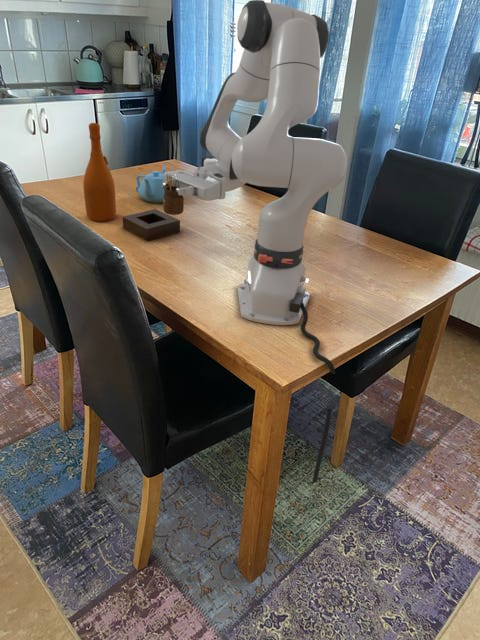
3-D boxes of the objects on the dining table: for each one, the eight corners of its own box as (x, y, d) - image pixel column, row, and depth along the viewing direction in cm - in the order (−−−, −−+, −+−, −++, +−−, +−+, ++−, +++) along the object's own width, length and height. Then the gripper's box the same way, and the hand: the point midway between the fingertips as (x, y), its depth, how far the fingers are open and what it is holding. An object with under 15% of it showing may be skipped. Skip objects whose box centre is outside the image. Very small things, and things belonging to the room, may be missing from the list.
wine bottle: (119, 221, 162) (113, 126, 147) (88, 223, 159) (79, 126, 143) (114, 211, 170) (107, 120, 154) (84, 213, 167) (75, 120, 151)
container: (197, 187, 200) (198, 155, 193) (215, 187, 202) (217, 155, 195) (201, 193, 194) (202, 160, 187) (220, 193, 196) (222, 160, 189)
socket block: (180, 232, 159) (180, 220, 156) (147, 241, 150) (147, 229, 148) (155, 220, 166) (155, 208, 164) (123, 228, 158) (122, 216, 156)
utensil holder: (186, 210, 147) (186, 170, 141) (178, 217, 142) (178, 175, 136) (168, 207, 148) (167, 167, 142) (159, 213, 143) (159, 172, 137)
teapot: (131, 194, 187) (130, 167, 182) (167, 190, 194) (167, 164, 188) (145, 206, 177) (144, 178, 171) (183, 202, 183) (183, 175, 178)
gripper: (184, 163, 154) (148, 169, 145) (229, 179, 142) (193, 187, 134) (184, 183, 157) (149, 190, 148) (228, 200, 146) (193, 209, 137)
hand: (170, 189), depth 141 cm, fingers closed on utensil holder, 5 cm apart
